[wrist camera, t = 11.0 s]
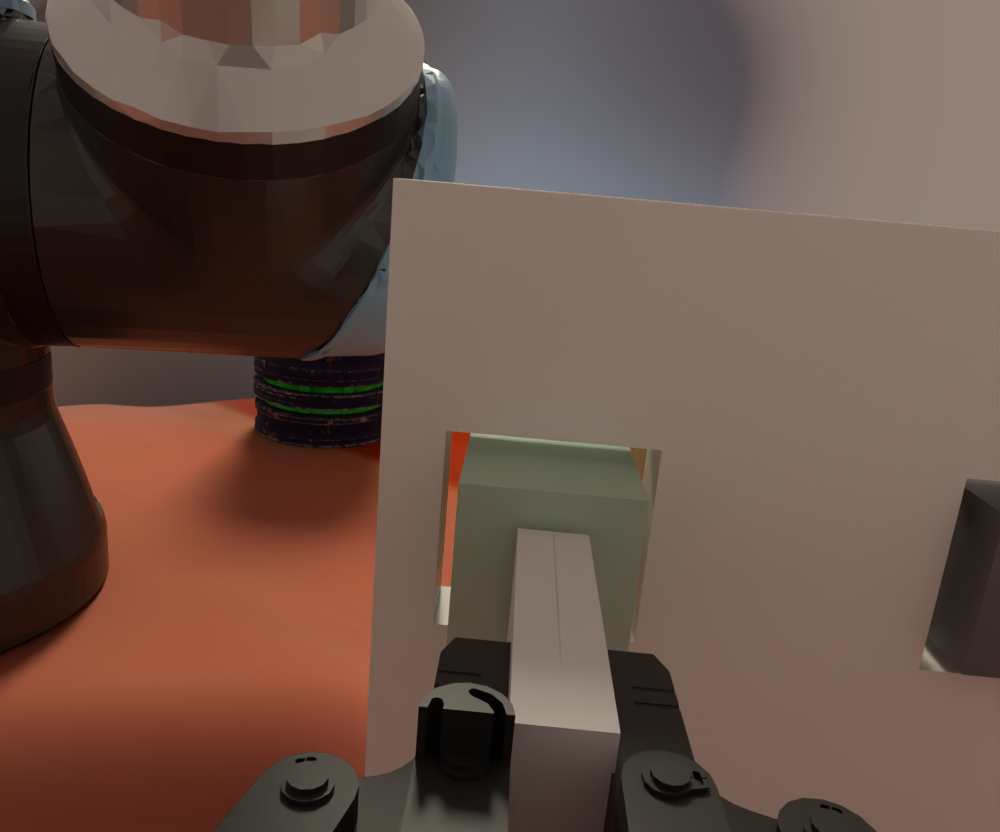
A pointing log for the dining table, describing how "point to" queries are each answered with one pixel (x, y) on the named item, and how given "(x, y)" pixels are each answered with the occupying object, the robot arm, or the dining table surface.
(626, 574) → the sage button
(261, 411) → the storage jar
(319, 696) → the dining table surface
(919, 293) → the button panel
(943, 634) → the black button
